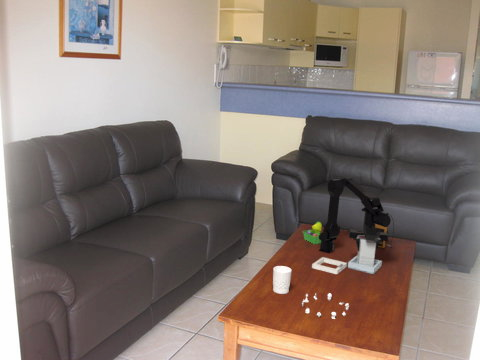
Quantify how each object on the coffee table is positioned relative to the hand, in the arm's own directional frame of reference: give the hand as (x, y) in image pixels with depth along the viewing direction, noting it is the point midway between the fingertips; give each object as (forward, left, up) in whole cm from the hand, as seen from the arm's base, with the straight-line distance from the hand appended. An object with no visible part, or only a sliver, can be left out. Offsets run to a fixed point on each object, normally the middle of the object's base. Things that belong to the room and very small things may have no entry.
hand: (366, 251), depth 263 cm
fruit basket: (-37, +21, -8) cm, 43 cm away
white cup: (-20, -53, -8) cm, 57 cm away
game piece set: (+2, -57, -9) cm, 58 cm away
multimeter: (-5, +41, -8) cm, 42 cm away
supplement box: (0, 0, -7) cm, 7 cm away
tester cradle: (-14, -12, -8) cm, 20 cm away
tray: (0, 0, -8) cm, 8 cm away
